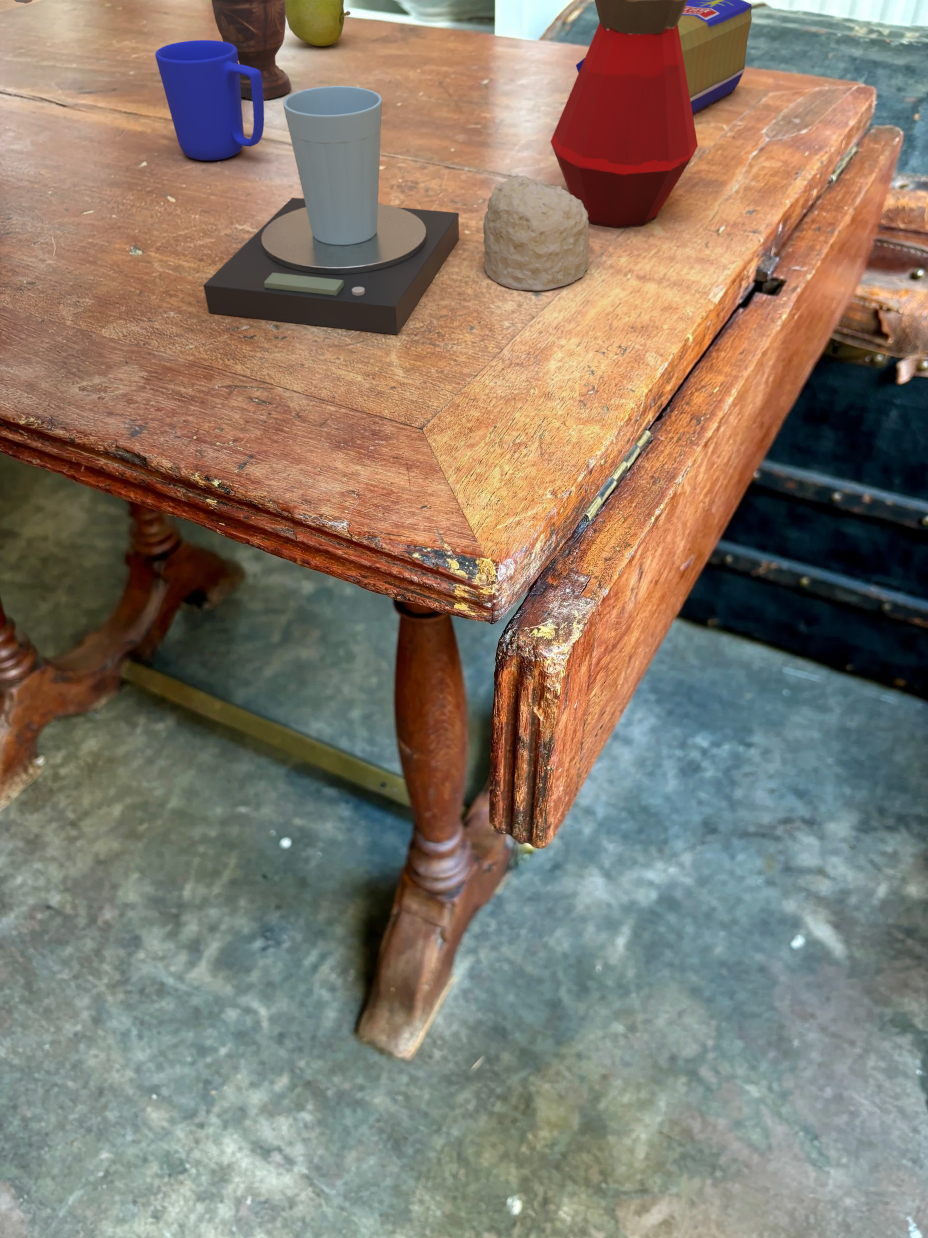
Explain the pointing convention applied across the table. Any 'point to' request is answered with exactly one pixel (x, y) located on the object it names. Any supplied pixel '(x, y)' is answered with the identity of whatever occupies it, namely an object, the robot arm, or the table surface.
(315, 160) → the cup
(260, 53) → the mortar and pestle
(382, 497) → the table surface
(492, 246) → the rock
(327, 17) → the apple
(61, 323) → the table surface
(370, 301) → the scale
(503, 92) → the table surface
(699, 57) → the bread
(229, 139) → the mug
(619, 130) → the red faceted vase
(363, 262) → the scale platform
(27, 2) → the robot arm
